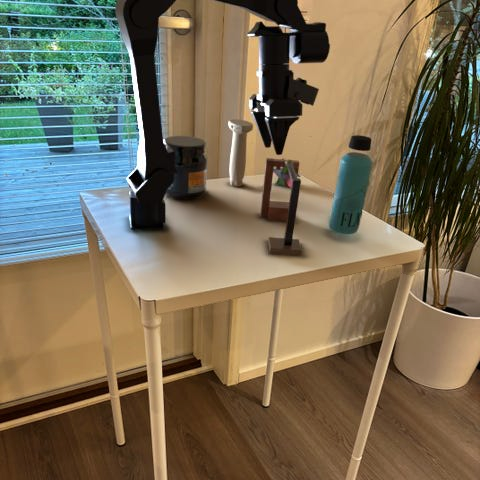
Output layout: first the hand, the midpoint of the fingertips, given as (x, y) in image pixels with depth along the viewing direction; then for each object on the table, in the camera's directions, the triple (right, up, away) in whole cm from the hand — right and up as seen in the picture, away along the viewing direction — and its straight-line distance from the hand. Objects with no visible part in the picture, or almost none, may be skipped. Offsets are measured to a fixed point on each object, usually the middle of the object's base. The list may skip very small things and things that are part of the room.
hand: (273, 151), depth 102 cm
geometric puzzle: (+5, 0, +28) cm, 29 cm away
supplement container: (-20, -4, +18) cm, 27 cm away
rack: (+2, -17, +2) cm, 17 cm away
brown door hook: (+1, -11, +9) cm, 15 cm away
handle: (-8, 0, +26) cm, 27 cm away
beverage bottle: (+15, -16, +4) cm, 22 cm away
